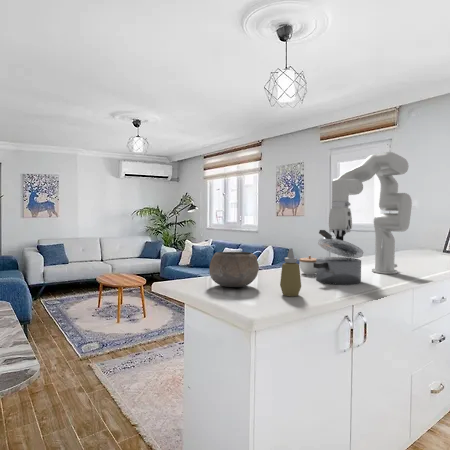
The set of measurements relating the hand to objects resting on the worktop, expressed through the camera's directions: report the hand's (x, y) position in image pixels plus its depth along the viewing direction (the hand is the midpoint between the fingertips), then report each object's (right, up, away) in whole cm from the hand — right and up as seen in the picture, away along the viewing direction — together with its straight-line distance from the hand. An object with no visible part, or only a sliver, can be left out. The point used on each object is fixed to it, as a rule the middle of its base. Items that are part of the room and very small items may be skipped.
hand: (339, 244), depth 168 cm
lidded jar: (-9, -17, +20) cm, 27 cm away
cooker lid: (-1, -1, -1) cm, 2 cm away
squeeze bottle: (-28, -18, -30) cm, 45 cm away
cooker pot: (-3, -17, -2) cm, 17 cm away
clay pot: (-50, -18, -14) cm, 55 cm away
